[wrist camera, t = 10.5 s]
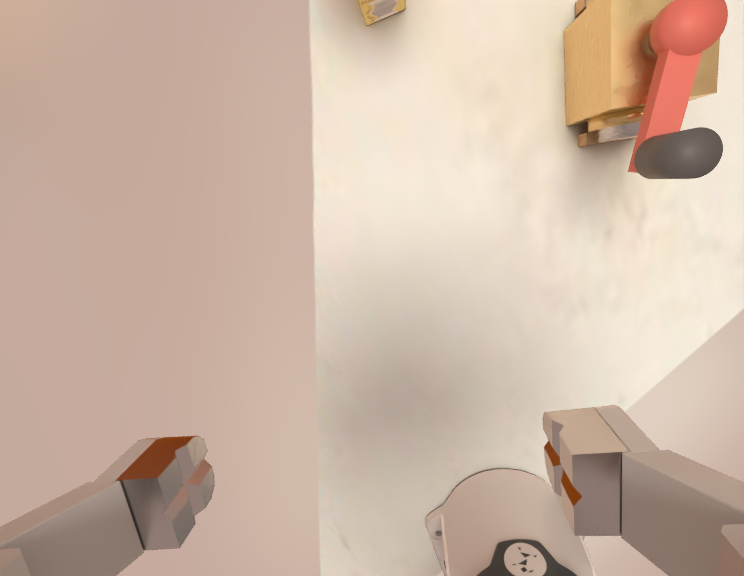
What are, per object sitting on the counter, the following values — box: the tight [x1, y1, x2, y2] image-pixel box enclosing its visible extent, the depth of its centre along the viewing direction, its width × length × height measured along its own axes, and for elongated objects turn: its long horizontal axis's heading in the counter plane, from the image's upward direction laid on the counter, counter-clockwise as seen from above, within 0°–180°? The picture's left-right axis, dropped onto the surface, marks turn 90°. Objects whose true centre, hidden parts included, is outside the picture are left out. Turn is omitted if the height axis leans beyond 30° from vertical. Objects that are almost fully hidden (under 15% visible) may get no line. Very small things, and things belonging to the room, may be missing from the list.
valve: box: [564, 0, 720, 146], centre depth 32 cm, size 12×7×10 cm, turn 8°
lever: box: [628, 0, 728, 179], centre depth 25 cm, size 4×11×5 cm, turn 174°
